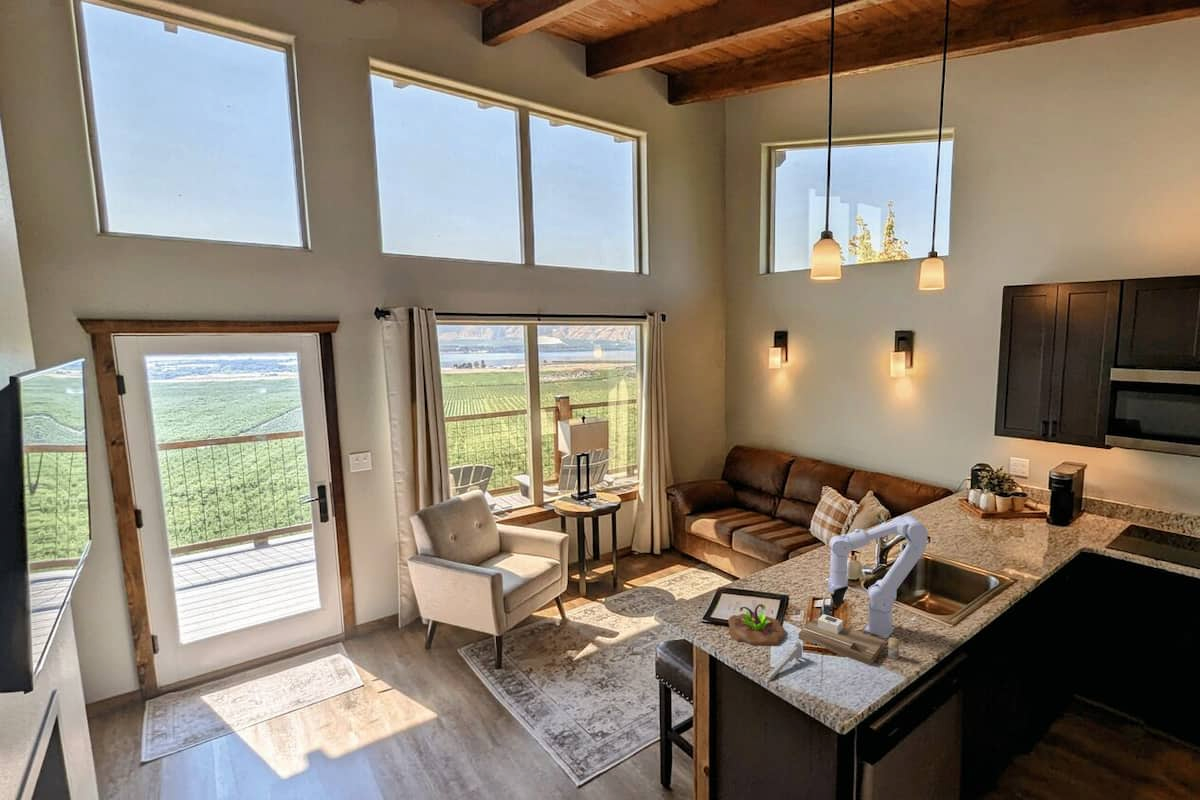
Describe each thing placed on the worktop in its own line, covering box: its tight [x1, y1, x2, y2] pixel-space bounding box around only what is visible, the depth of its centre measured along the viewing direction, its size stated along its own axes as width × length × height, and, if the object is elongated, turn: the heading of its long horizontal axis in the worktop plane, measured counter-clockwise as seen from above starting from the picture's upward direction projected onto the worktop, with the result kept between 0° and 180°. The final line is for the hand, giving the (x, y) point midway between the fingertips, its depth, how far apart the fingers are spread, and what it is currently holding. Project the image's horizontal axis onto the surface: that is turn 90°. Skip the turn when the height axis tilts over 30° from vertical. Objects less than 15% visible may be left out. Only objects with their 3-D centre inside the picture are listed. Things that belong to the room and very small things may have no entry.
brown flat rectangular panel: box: [798, 617, 885, 666], centre depth 197 cm, size 14×24×2 cm, turn 47°
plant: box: [728, 603, 785, 646], centre depth 204 cm, size 20×20×11 cm
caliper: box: [763, 640, 803, 683], centre depth 181 cm, size 20×1×6 cm, turn 131°
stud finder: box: [817, 613, 844, 634], centre depth 202 cm, size 5×7×3 cm
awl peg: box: [887, 637, 900, 661], centre depth 188 cm, size 3×3×6 cm
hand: (837, 605), depth 206 cm, fingers closed
